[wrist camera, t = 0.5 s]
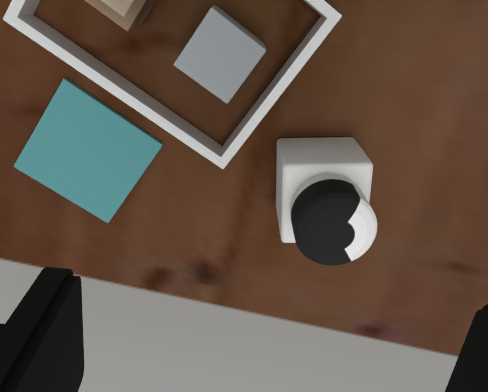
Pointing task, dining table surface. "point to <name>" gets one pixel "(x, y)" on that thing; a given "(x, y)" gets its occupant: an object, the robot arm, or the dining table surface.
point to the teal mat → (87, 151)
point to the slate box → (220, 54)
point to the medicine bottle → (325, 198)
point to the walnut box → (124, 11)
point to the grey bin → (104, 76)
